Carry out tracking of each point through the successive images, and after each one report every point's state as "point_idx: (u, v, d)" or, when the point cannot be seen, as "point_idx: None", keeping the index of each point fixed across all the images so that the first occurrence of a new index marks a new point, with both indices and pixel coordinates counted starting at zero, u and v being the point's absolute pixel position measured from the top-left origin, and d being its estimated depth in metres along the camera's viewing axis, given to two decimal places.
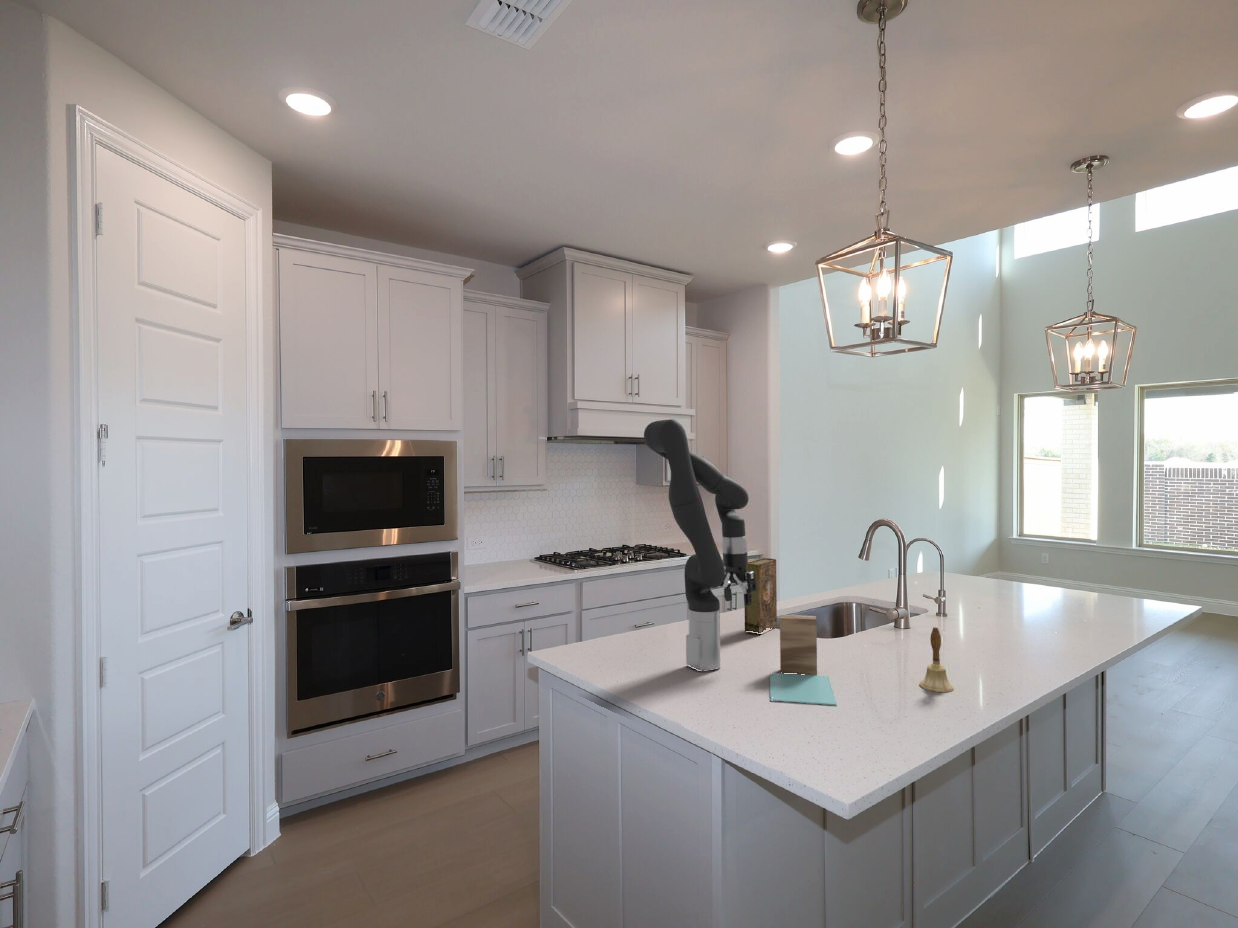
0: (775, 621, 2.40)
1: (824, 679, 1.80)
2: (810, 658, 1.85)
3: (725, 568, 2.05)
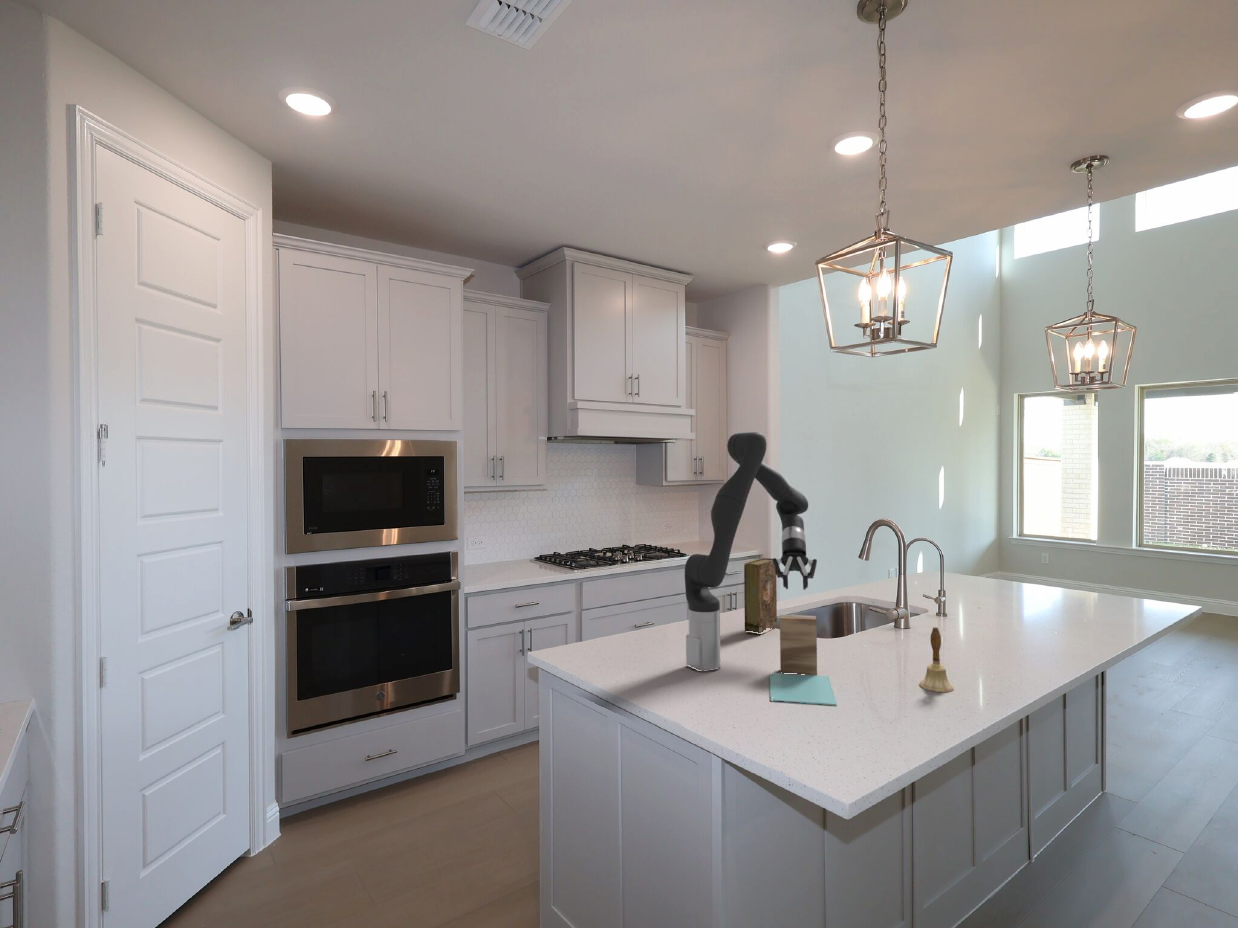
0: (775, 621, 2.40)
1: (824, 679, 1.80)
2: (810, 658, 1.85)
3: None
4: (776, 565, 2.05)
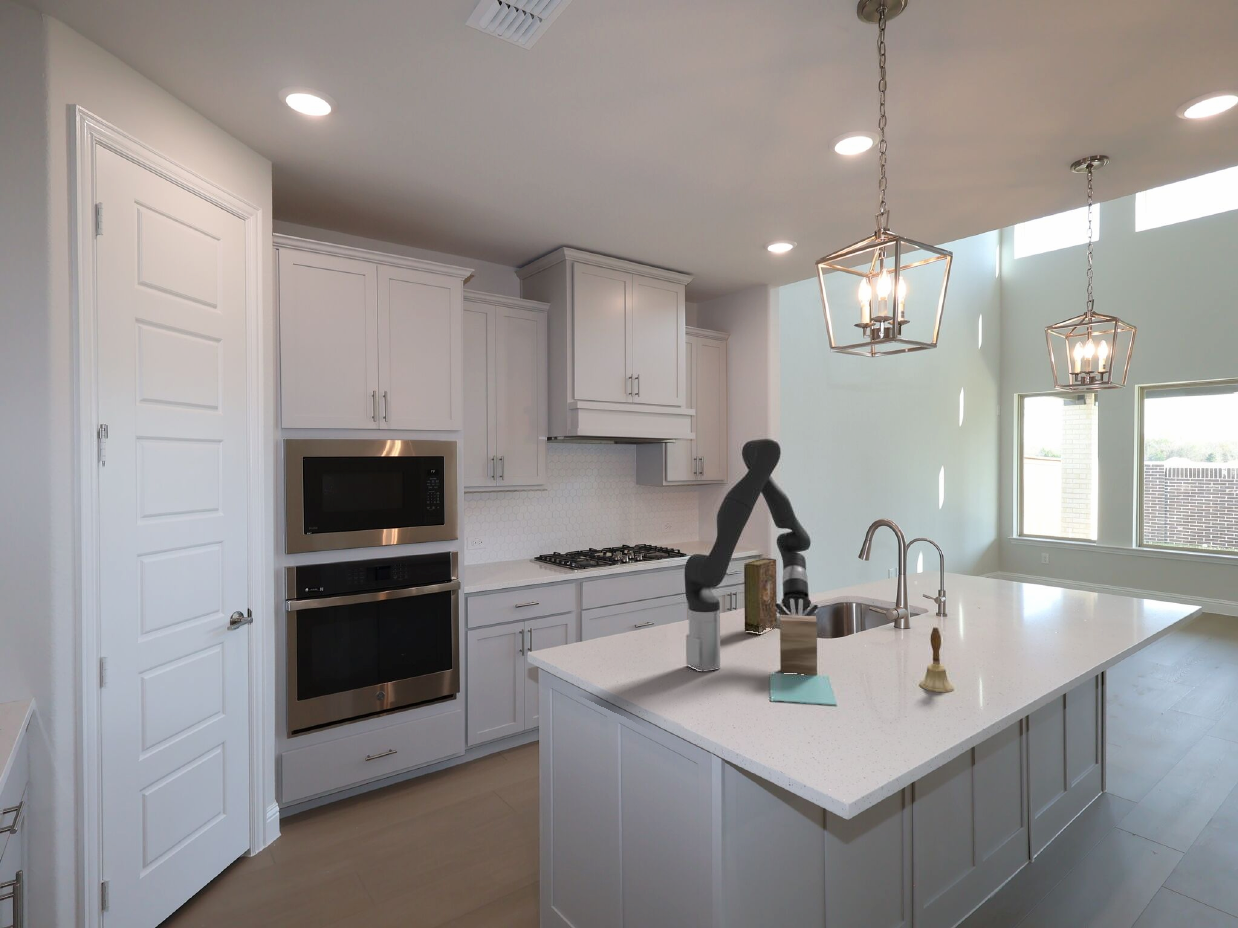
0: (775, 621, 2.40)
1: (824, 679, 1.80)
2: (810, 659, 1.85)
3: (780, 603, 1.97)
4: (782, 610, 1.94)
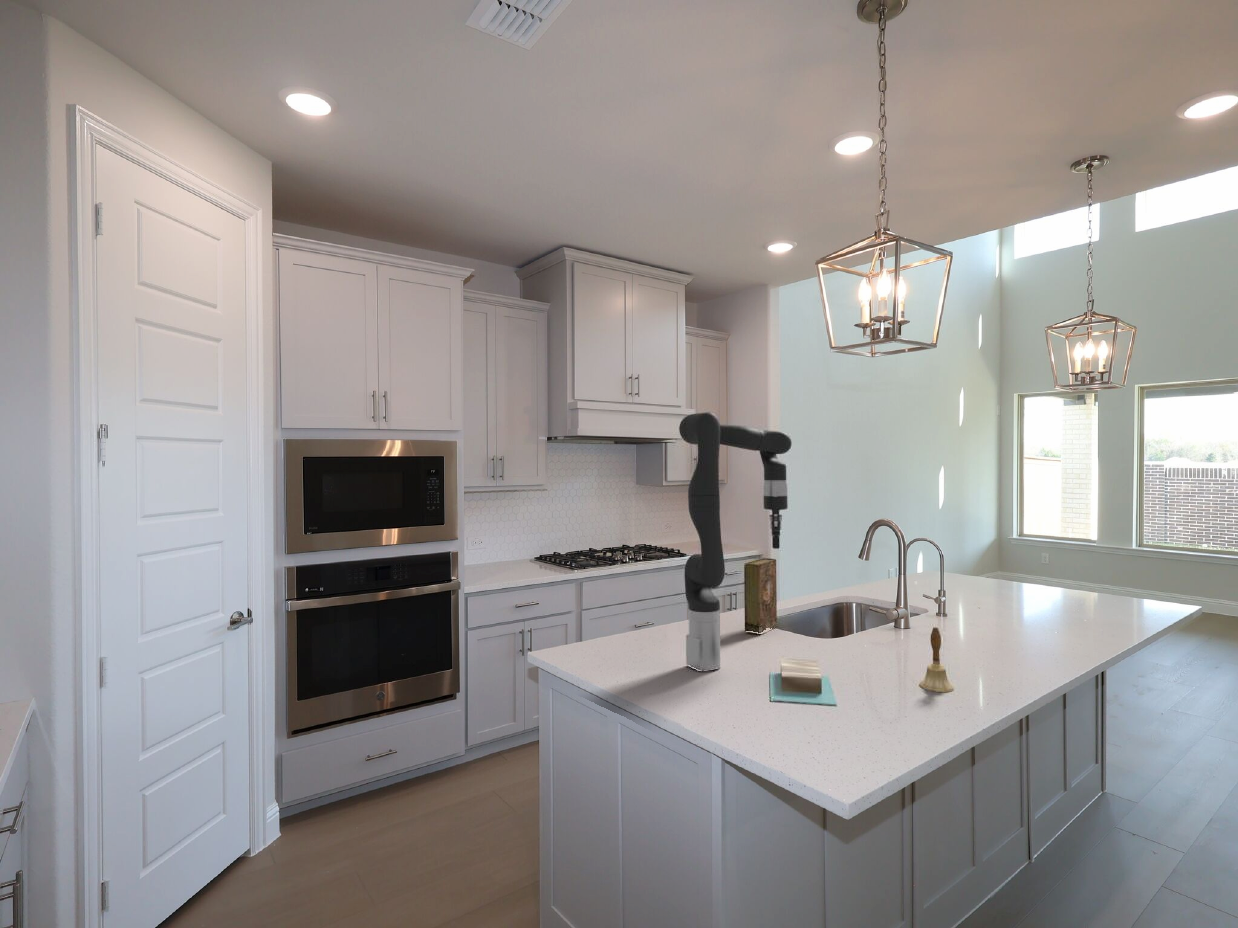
0: (775, 621, 2.40)
1: (824, 679, 1.80)
2: None
3: None
4: None
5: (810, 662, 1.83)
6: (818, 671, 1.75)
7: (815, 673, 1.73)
